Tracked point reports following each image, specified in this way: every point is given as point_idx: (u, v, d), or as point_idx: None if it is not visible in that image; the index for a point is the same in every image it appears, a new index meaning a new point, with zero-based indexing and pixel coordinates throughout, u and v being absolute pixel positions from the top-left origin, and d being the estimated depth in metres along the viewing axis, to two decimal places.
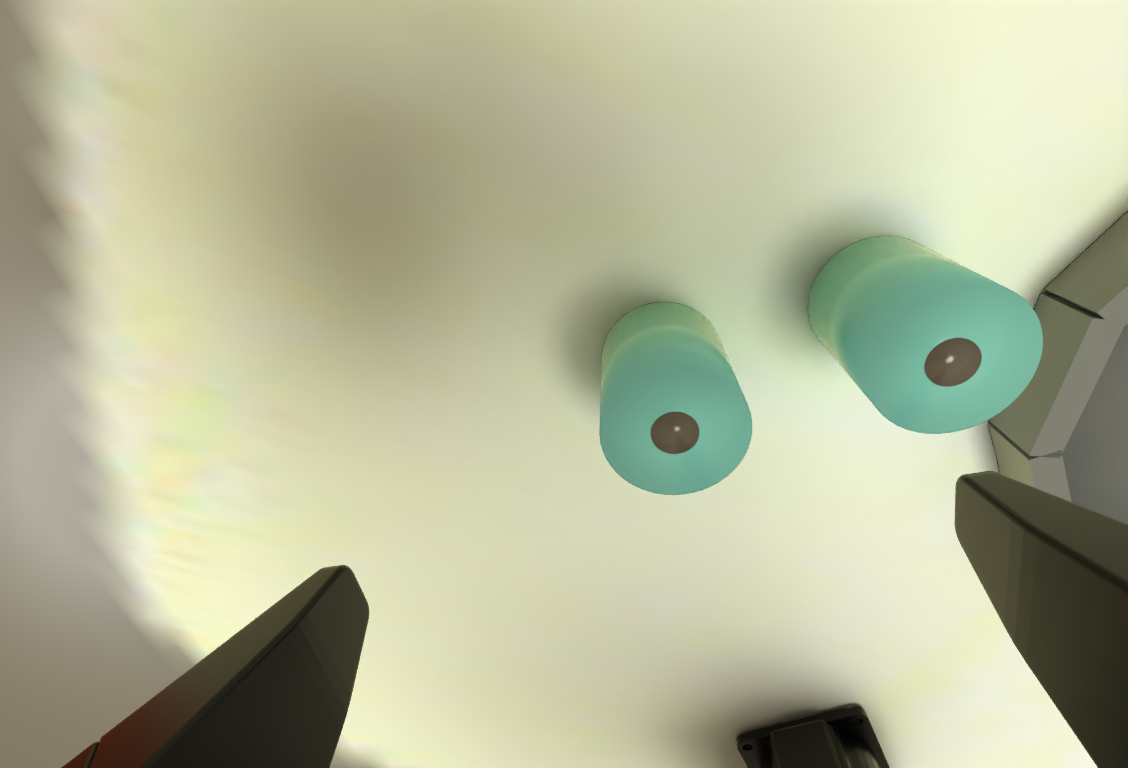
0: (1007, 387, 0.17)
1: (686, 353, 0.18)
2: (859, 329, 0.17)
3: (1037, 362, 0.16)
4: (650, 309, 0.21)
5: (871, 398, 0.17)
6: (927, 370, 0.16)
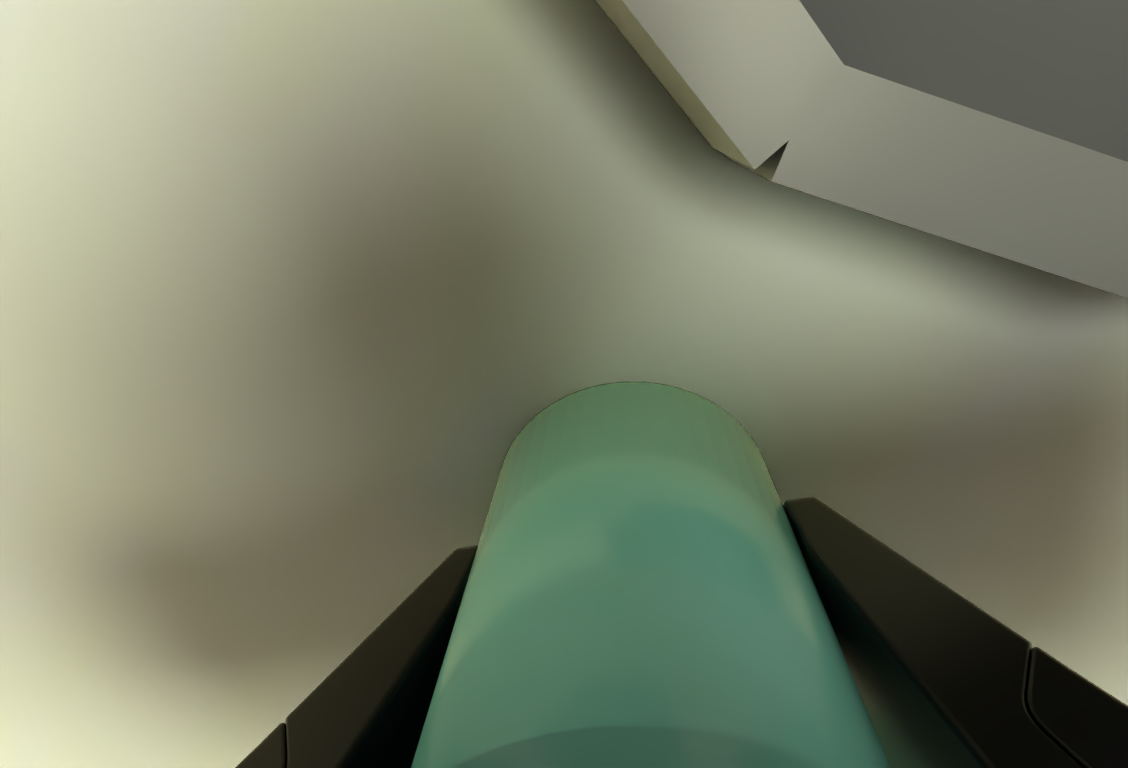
0: None
1: None
2: None
3: (732, 738, 0.04)
4: None
5: None
6: None
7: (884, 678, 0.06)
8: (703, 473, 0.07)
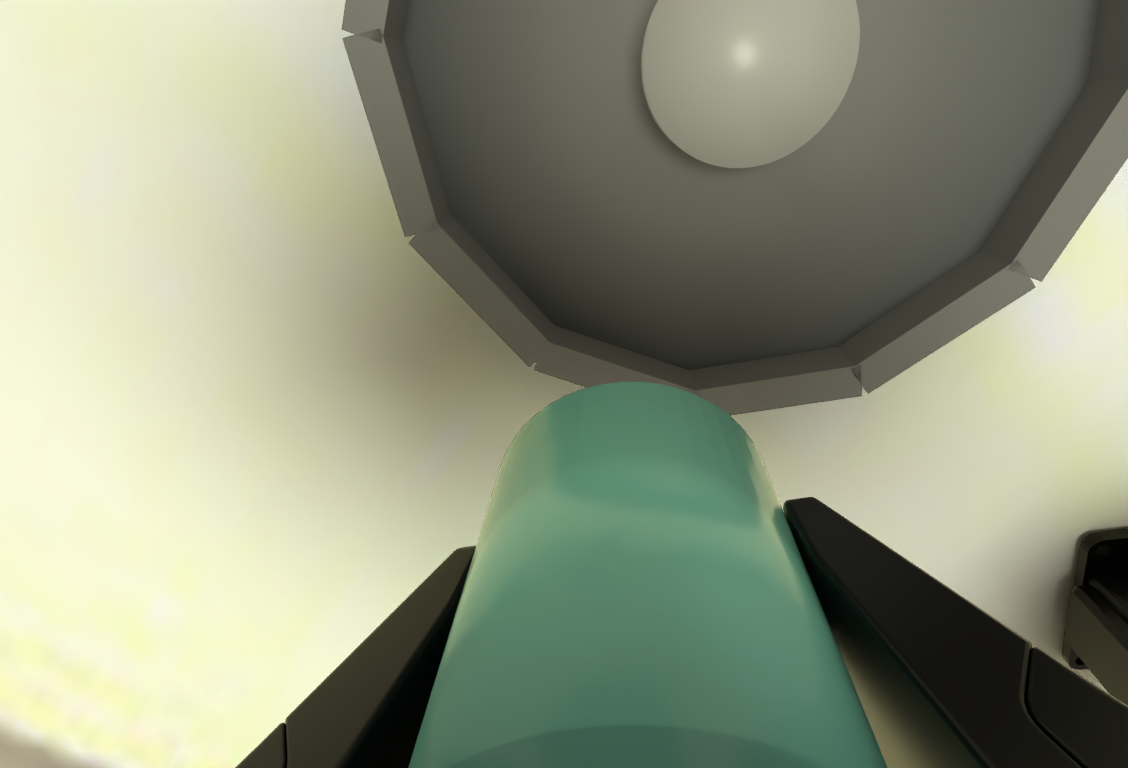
0: None
1: None
2: None
3: (729, 737, 0.04)
4: None
5: None
6: None
7: (884, 678, 0.06)
8: (701, 473, 0.07)
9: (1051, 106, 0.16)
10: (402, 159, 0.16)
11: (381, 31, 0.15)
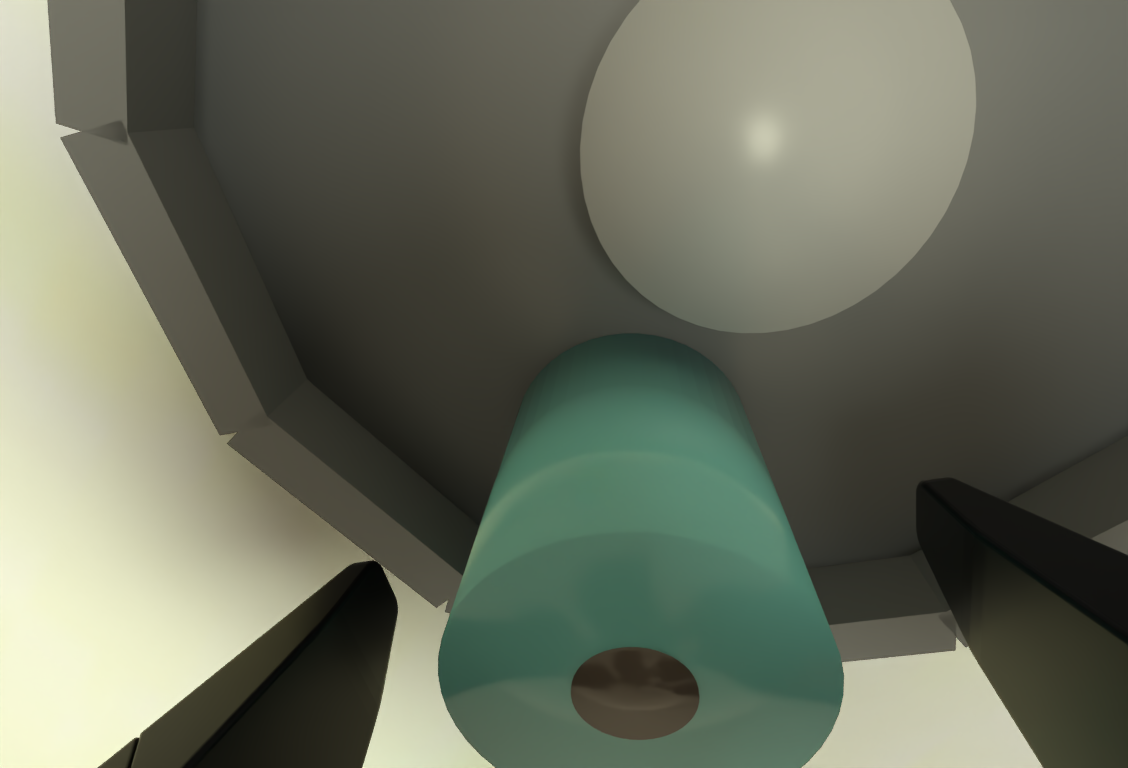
0: (747, 601, 0.06)
1: None
2: None
3: (691, 541, 0.06)
4: None
5: None
6: (640, 736, 0.07)
7: (1093, 658, 0.05)
8: (684, 395, 0.09)
9: None
10: (195, 324, 0.10)
11: (123, 125, 0.08)
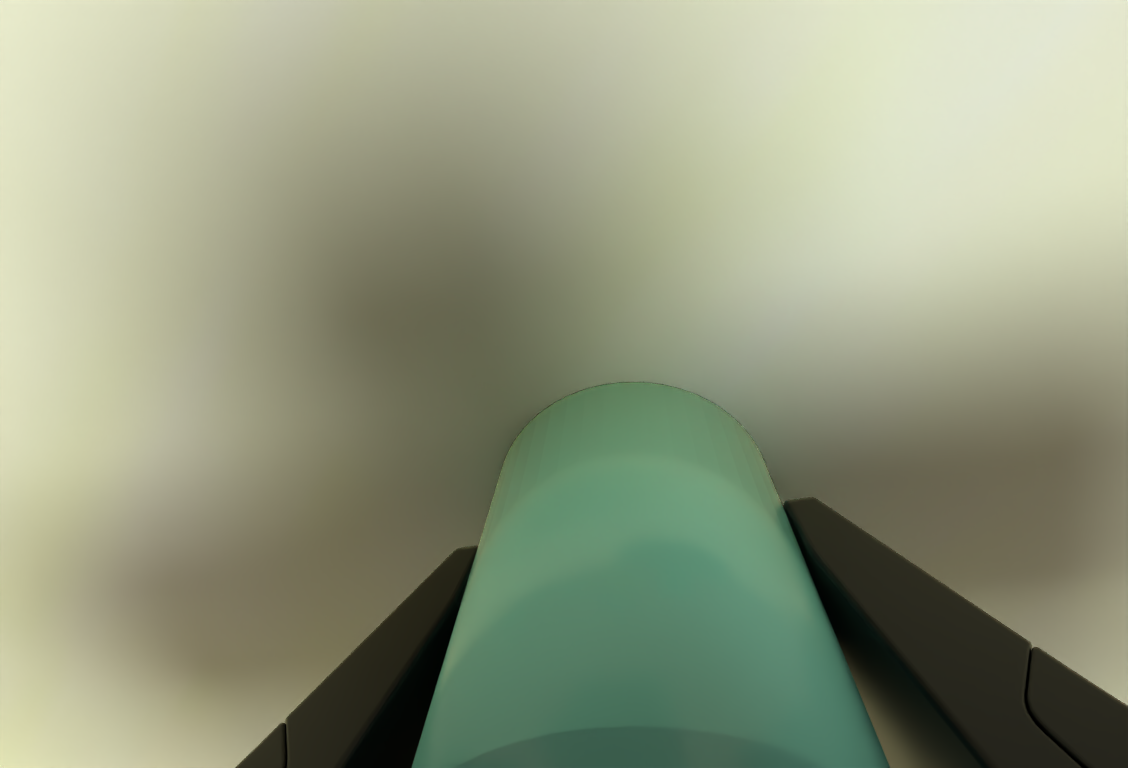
0: None
1: (420, 738, 0.06)
2: None
3: None
4: None
5: None
6: None
7: (884, 678, 0.06)
8: None
9: None
10: None
11: None
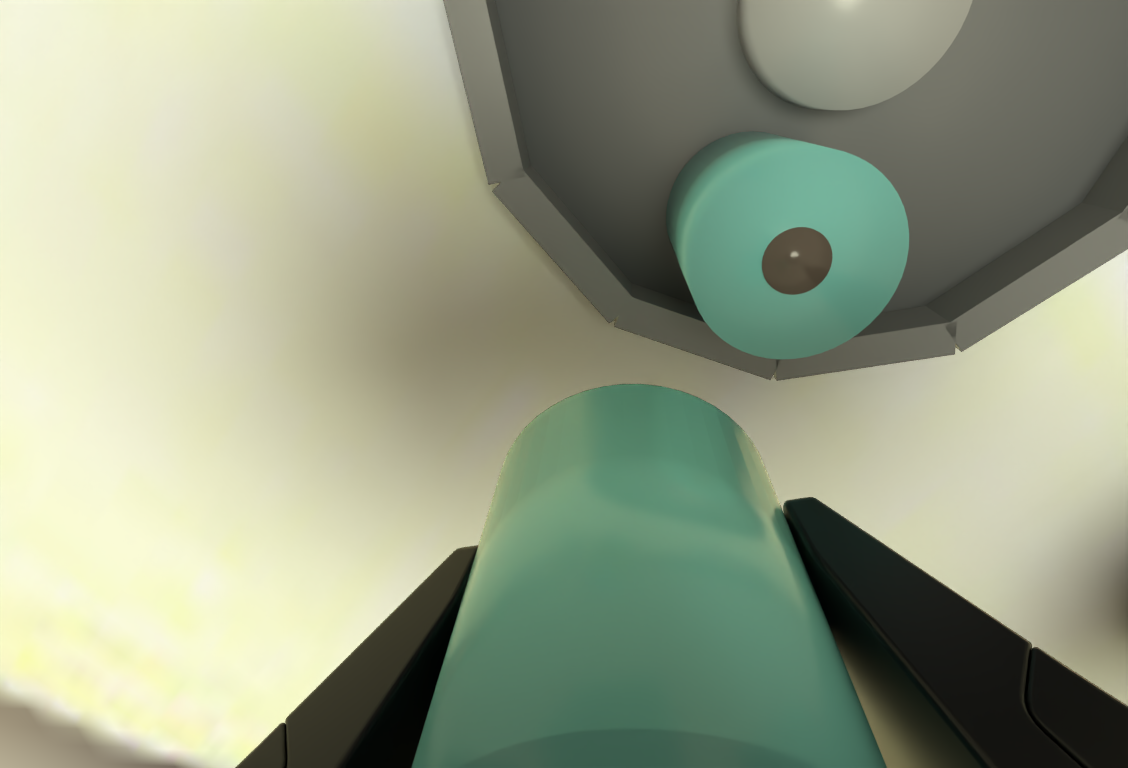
0: (868, 196, 0.12)
1: (419, 741, 0.06)
2: None
3: (848, 155, 0.12)
4: None
5: (804, 355, 0.14)
6: (794, 292, 0.13)
7: (884, 678, 0.06)
8: None
9: None
10: (491, 101, 0.16)
11: None
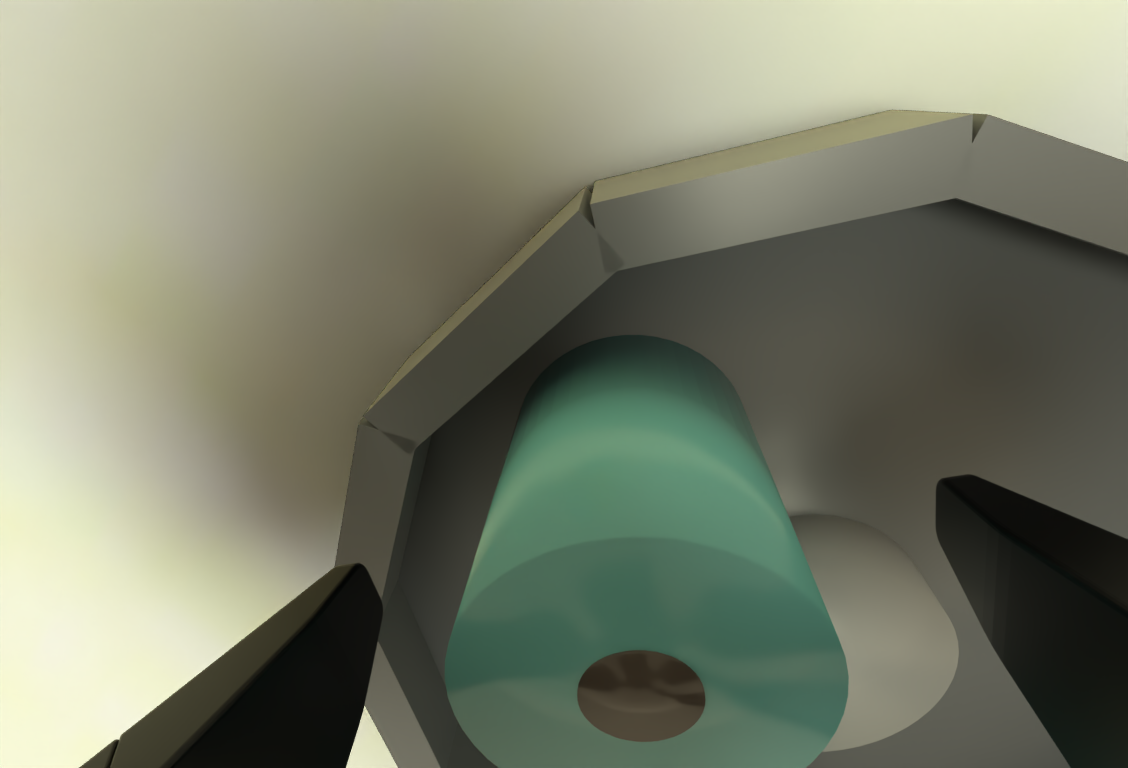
0: None
1: None
2: None
3: None
4: None
5: None
6: None
7: (1124, 655, 0.05)
8: None
9: None
10: (401, 726, 0.14)
11: None
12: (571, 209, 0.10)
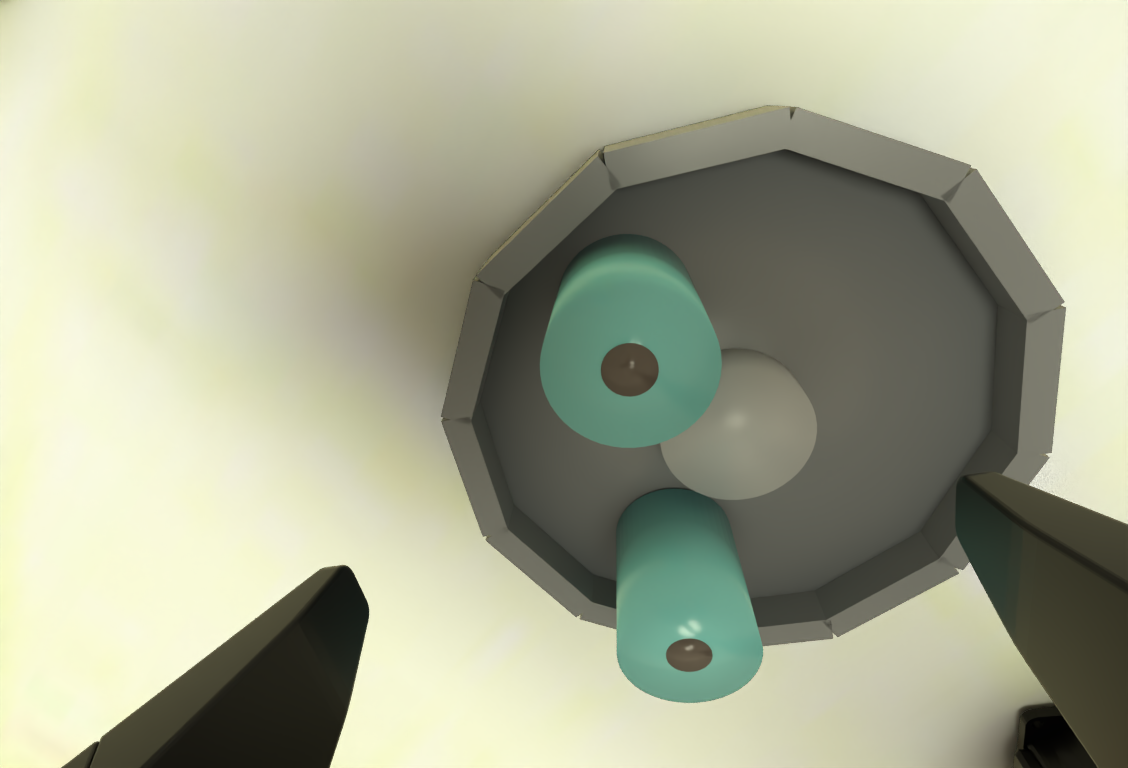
0: (735, 628, 0.18)
1: (547, 328, 0.15)
2: None
3: (722, 607, 0.18)
4: None
5: (694, 700, 0.20)
6: (687, 670, 0.19)
7: None
8: (713, 535, 0.21)
9: (965, 445, 0.21)
10: (482, 491, 0.22)
11: (469, 418, 0.20)
12: (592, 158, 0.18)
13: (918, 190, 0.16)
